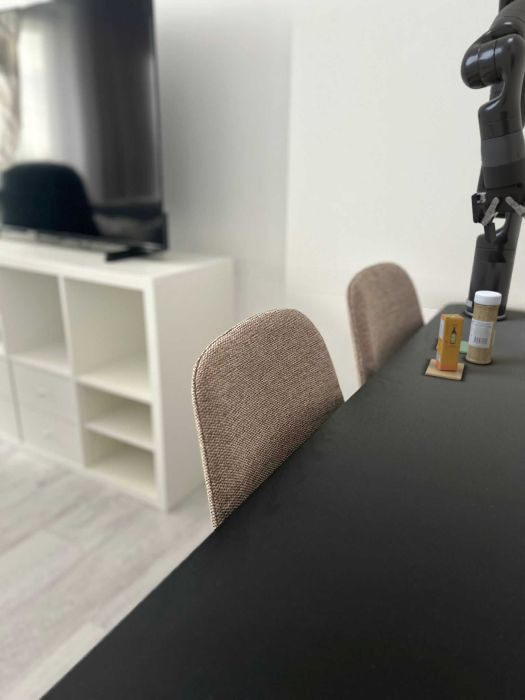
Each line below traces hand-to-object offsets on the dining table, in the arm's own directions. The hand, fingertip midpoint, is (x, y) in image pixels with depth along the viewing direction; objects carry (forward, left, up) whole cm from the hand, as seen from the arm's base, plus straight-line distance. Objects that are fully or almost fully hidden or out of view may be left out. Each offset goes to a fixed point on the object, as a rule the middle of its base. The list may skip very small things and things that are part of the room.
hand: (512, 241), depth 102 cm
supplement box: (+21, -8, -21) cm, 31 cm away
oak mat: (+21, -8, -21) cm, 31 cm away
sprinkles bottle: (+13, -3, -22) cm, 26 cm away
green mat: (+6, -8, -21) cm, 24 cm away
